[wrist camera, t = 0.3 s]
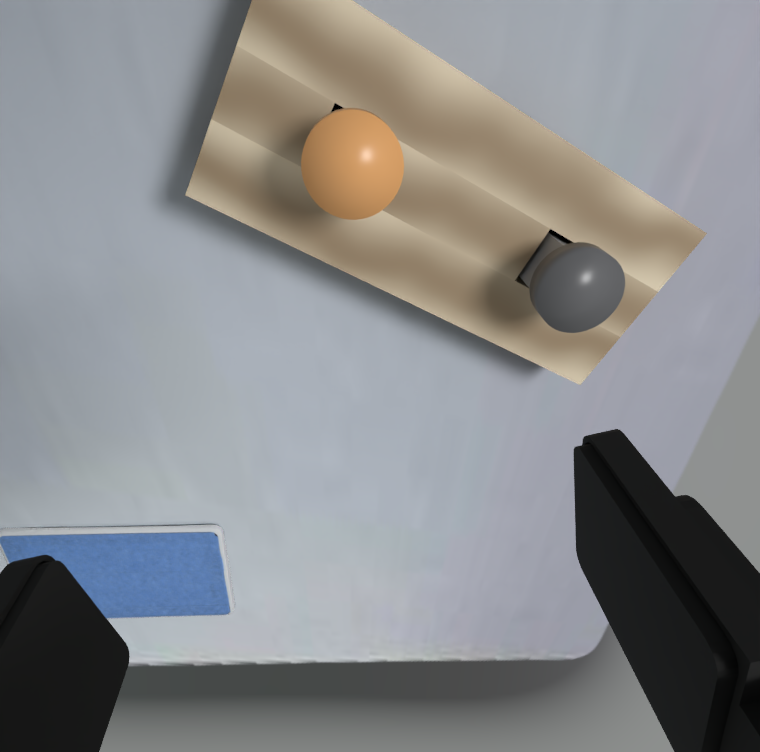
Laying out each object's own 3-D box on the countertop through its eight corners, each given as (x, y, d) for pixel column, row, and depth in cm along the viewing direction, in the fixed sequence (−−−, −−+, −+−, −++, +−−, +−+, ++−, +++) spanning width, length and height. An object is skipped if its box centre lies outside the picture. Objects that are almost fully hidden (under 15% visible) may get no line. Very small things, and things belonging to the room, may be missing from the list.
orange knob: (329, 83, 27) (328, 88, 23) (408, 130, 29) (422, 144, 24) (292, 169, 29) (284, 190, 25) (368, 209, 31) (374, 236, 26)
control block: (278, -40, 27) (270, -54, 23) (670, 216, 35) (706, 233, 32) (201, 180, 32) (185, 195, 28) (559, 357, 40) (580, 385, 37)
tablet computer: (39, 612, 52) (32, 624, 51) (-4, 522, 46) (-12, 534, 45) (237, 605, 54) (235, 617, 53) (223, 517, 47) (220, 528, 46)
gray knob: (540, 208, 32) (575, 234, 27) (600, 244, 33) (643, 275, 28) (494, 276, 34) (520, 311, 29) (553, 306, 35) (586, 345, 30)
